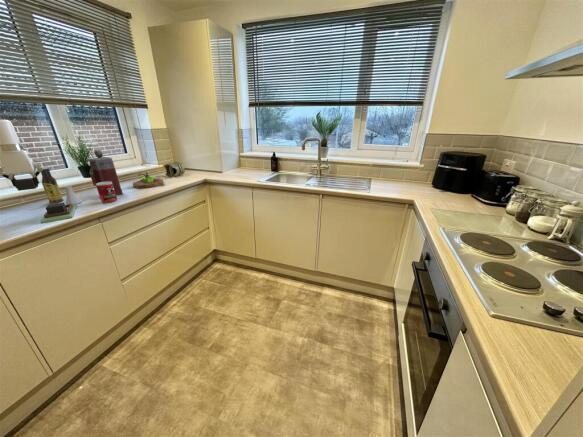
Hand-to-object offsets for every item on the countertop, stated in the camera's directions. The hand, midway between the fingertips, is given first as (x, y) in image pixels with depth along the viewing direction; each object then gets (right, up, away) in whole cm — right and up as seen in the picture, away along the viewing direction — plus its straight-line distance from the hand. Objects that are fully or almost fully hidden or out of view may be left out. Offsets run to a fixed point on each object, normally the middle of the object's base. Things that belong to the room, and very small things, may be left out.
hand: (27, 186), depth 117 cm
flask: (+3, -7, +22) cm, 23 cm away
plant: (+24, +9, +59) cm, 65 cm away
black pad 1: (0, -1, 0) cm, 1 cm away
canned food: (+22, -6, +24) cm, 33 cm away
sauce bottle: (-11, -6, +25) cm, 28 cm away
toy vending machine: (+14, -1, +35) cm, 38 cm away
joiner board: (+11, -14, +5) cm, 18 cm away
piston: (+30, +20, +87) cm, 94 cm away
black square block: (+13, -13, +2) cm, 19 cm away
